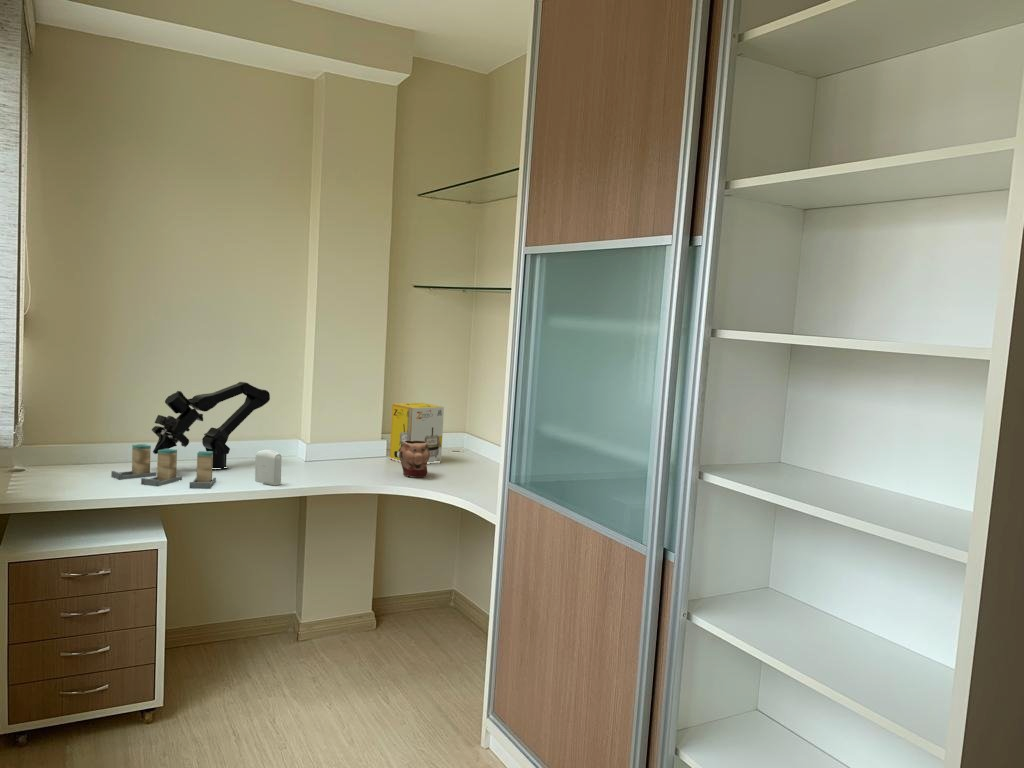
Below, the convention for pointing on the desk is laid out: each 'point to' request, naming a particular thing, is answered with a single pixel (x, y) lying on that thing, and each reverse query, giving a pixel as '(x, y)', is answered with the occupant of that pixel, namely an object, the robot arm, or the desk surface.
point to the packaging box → (417, 427)
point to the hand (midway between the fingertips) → (154, 453)
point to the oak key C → (204, 466)
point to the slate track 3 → (202, 484)
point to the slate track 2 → (158, 481)
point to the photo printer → (268, 467)
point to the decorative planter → (414, 458)
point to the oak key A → (141, 459)
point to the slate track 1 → (130, 475)
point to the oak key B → (166, 464)
